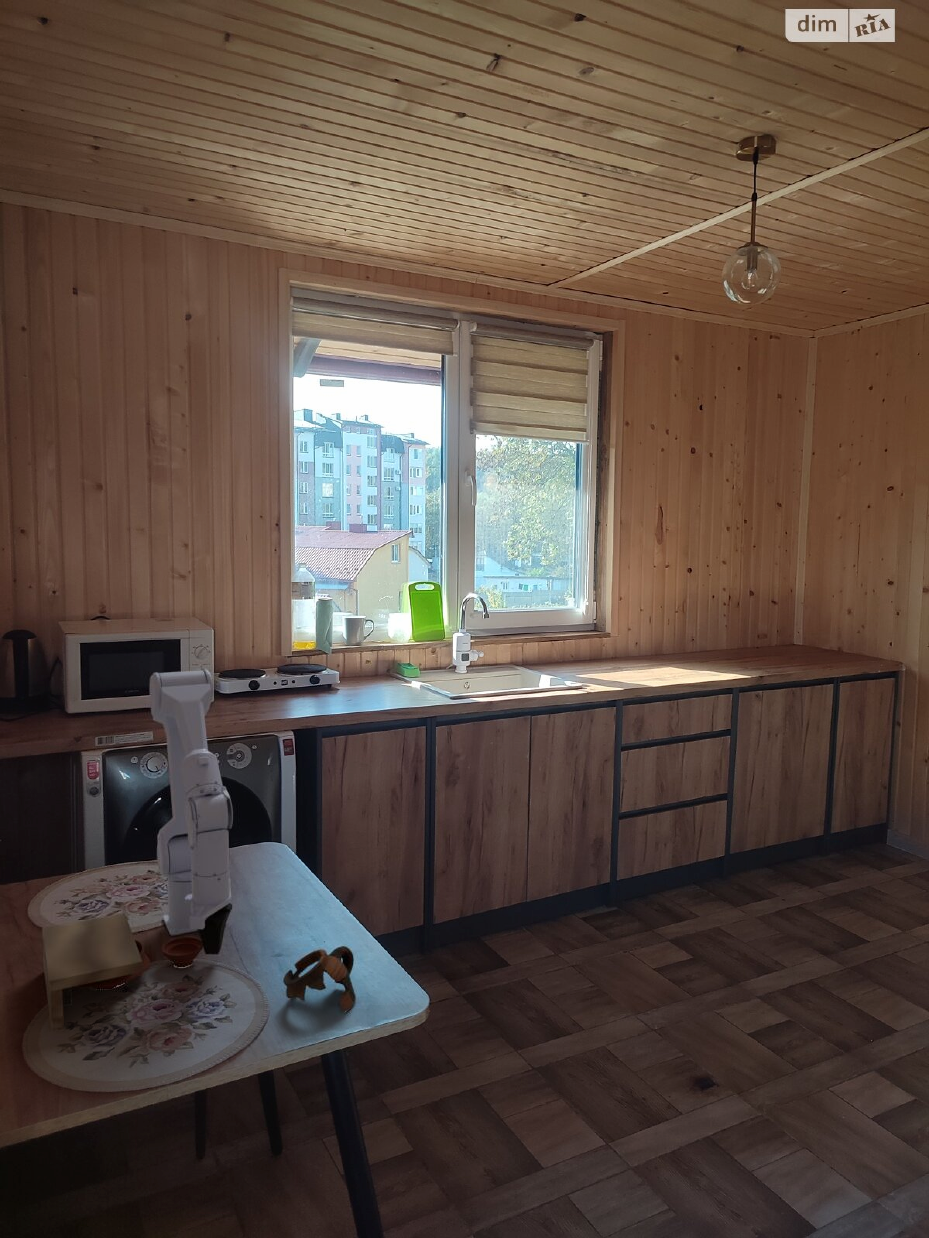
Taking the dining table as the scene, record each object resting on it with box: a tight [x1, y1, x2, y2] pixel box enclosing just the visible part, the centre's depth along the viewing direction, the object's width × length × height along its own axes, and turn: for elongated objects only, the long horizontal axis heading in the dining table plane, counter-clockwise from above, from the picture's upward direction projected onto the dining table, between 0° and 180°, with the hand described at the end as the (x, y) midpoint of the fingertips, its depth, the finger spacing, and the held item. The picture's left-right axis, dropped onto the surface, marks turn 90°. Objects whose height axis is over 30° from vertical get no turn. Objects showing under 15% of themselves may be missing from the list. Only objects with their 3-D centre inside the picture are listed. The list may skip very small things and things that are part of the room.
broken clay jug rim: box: [282, 945, 357, 1013], centre depth 131 cm, size 12×10×8 cm
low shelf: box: [41, 912, 143, 1030], centre depth 132 cm, size 12×18×7 cm, turn 28°
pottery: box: [77, 936, 204, 991], centre depth 137 cm, size 12×20×4 cm, turn 118°
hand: (212, 952), depth 141 cm, fingers closed, pressing on pottery
